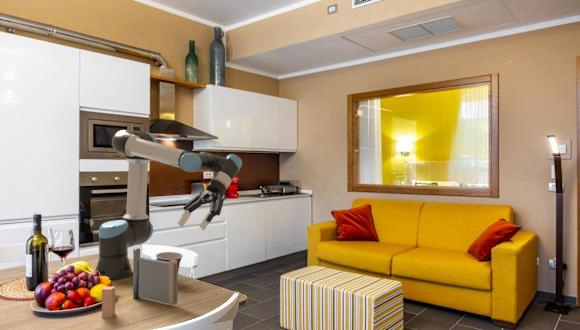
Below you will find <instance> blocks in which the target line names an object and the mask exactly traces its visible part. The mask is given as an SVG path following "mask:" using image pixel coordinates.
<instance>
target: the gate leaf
mask: <svg viewBox="0 0 580 330" xmlns="http://www.w3.org/2000/svg"><path fill="white" fill-rule="evenodd" d="M139 297H140V298H143V299H147V300H151V301H156V302H159V303H163V304H168V305H170V306H174V305H177V304H178V275H177V260H171V261H169V262H166V261H160V260H157V259H153V258H149V257H148V258H147V257H140V258H139Z"/></svg>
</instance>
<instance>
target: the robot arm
mask: <svg viewBox="0 0 580 330" xmlns="http://www.w3.org/2000/svg"><path fill="white" fill-rule="evenodd" d="M111 146H112V148H113V150H114V151H115V152H116V153H117V154H119V155H121V156H125V160H126V161H127V162H128V172H127V173H128V174H127V191H126V192H127V194H126V209H125V210H126V213H125V214H124V215H123V216H122V219H118V220H115V219H114V220H110V221H107V222H104V223H102V224H101V225H100V226H99V229H98V260H97V263H96V266H95V268H94V269H95V270H94V272H95V271H97V270H98V271H99V272H100V275H101V276H107V277H109V278H111V279H110V280H117V279H122V278H126V277H129V276H131V275H132V274H133V268H132V267H133V266H132V263H130V259H129V254H128V251H129V249H128V248H131V247H134V246H139V245H143V244H144V243H147V242H148V241H149V240H150V239H151V238H152V236H153V233H154V226H153V224H152V222H151V221H150V220H149V218H150V217H149V215H148V214H146V212H147V191H148V189H147V188H148V176H149V175H148V172H149V170H148V169H149V163H150V162H151V161H154V162H159V163H161V164H165V165H169V166H172V167H176V168H179V169H182V170H183V171H184V172H188V173H197V172H211V173H213V174H214V175H213V176H212V177H211V180H210V181H209V182H208V184H207V185H206V190H205V191H204V192H201V191H198V193H196V195H195V196H194V197H193V198H192V199H191V200H189V201H188V202H187V203H186V204H185V205H184V206H183V210H184V212H183V214H182V215H181V217H180V219H179V220H178V221H177V224H178V225H179V227H180V228H183V227H184V226H185V224H186V222H187V221H188V220H189V219H190V217H191V216H192V213H193V212H194V211H196V210H197V209H199V208H200V207H201V206H202V205H204V206H205V205H206V204H209V206H210V207H209V211H208V212H207V213H206V215H205V216H204V218H203V219H202V220H201V222H200V223H199V225H198V226H199V227H200V229H201V230H202V231H205V230H206V228H208V227H207V226H208V225H209V224H210V223H211V222H212V220H213V219H214V218H215V217H216V216H221V213H222V208H223V204H224V201H225V200H226V196H225V192H226V191H227V189H228V187H230V185H231V183H232V181H233V180H234V179H235V177H236V175H237V174H238V173H239V172H240V169H241V168H242V166H243V161H242V159H241V158H240V157H239V156H238V155H236V154H233V153H230V154H228V155H227V156H226V157H224V156H219V155H215V154H213V153H210V152H206V151H201V152H199V153H197V152H192V151H187V150H184V149H180V148H177V147H173V146H170V145H165V144H160V143H158V142H157V139H156V137H155V136H154V135H153V134H152V133H150V132H148V131H143V130H131V129H122V130H118V131H117V132H116V133H115V134H114V135H113V137H112V140H111Z"/></svg>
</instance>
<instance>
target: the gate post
mask: <svg viewBox="0 0 580 330" xmlns="http://www.w3.org/2000/svg"><path fill="white" fill-rule="evenodd" d="M132 254H133V256H132V257H133V258H132V261H133V263H132V267H133V268H132V274H133V276H132V278H133V279H132V284H133V285H132V292H133V293H132V299H134V300H138V299H140V298H141V297H139V258H141V248H133V250H132Z"/></svg>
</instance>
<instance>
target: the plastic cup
mask: <svg viewBox="0 0 580 330" xmlns="http://www.w3.org/2000/svg"><path fill="white" fill-rule="evenodd" d="M155 257H156V260H160V261H166V262H169V261H171V260H177V276H178V275H179V268H180V263H181V262H182V261H181V260H182V258H183V257H184V256H183V254H182V253H179V252H174V251H164V252H159V253H156V254H155Z"/></svg>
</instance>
